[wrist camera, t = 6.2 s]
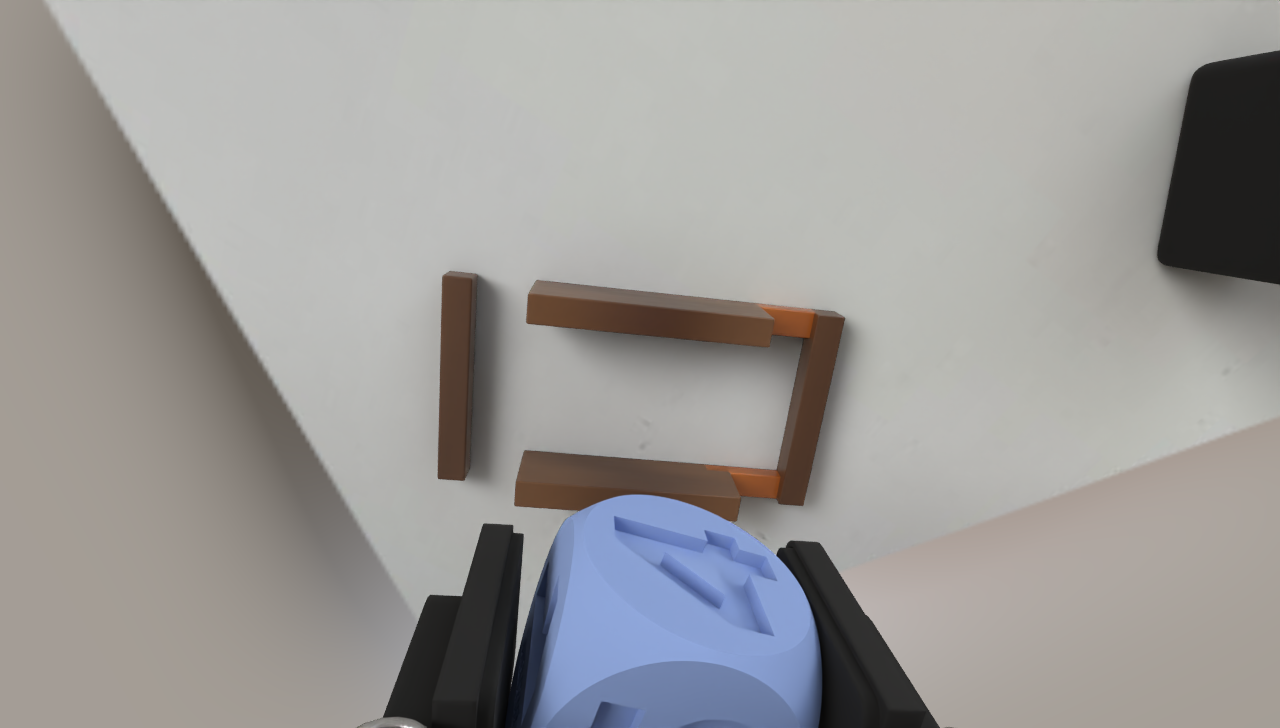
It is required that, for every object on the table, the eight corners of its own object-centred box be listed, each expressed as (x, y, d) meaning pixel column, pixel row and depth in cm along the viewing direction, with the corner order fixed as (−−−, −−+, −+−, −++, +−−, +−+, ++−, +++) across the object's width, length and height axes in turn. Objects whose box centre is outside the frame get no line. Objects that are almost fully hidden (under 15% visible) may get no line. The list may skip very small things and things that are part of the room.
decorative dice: (578, 469, 11) (574, 622, 7) (773, 524, 12) (861, 690, 8) (515, 640, 12) (484, 853, 8) (698, 682, 13) (746, 894, 9)
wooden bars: (443, 467, 23) (426, 500, 21) (448, 270, 21) (429, 282, 19) (795, 493, 25) (816, 527, 22) (835, 311, 22) (863, 328, 20)
